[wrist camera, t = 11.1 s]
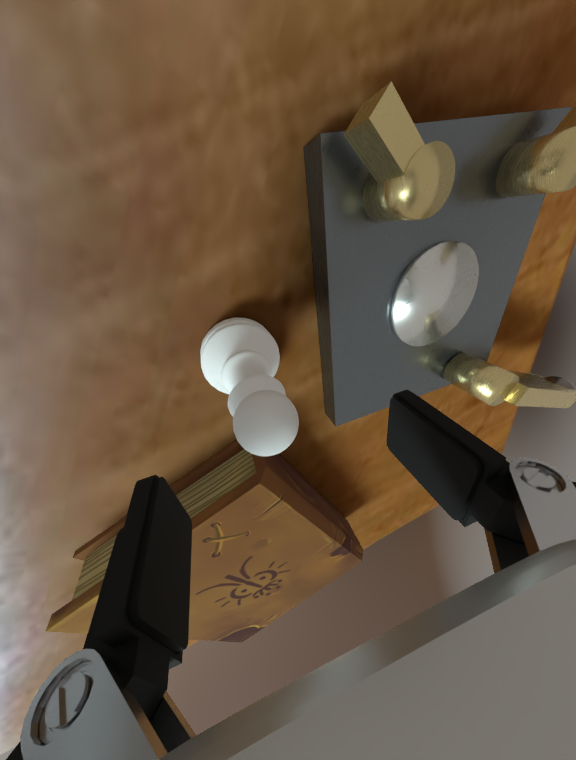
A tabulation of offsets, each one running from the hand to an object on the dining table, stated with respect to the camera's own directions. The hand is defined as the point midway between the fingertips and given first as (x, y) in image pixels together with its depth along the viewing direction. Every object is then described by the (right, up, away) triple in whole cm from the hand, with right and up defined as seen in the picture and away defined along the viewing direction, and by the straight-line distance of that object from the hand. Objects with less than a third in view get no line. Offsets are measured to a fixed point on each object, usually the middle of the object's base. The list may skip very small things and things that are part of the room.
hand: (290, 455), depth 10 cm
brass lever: (+20, +4, +14) cm, 24 cm away
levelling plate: (+10, +10, +9) cm, 16 cm away
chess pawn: (-4, +5, +7) cm, 9 cm away
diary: (-5, -13, +18) cm, 23 cm away
